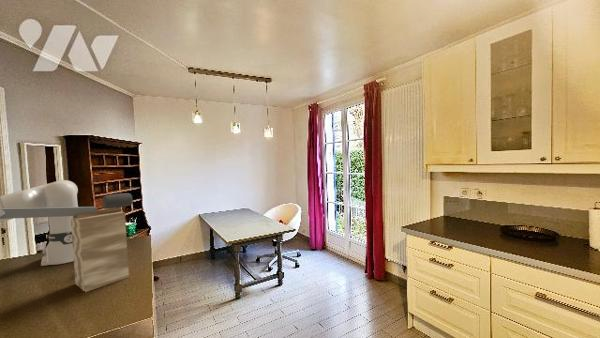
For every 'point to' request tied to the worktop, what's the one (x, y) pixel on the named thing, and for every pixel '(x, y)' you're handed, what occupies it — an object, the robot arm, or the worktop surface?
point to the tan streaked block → (99, 248)
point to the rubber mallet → (117, 200)
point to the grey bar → (45, 212)
